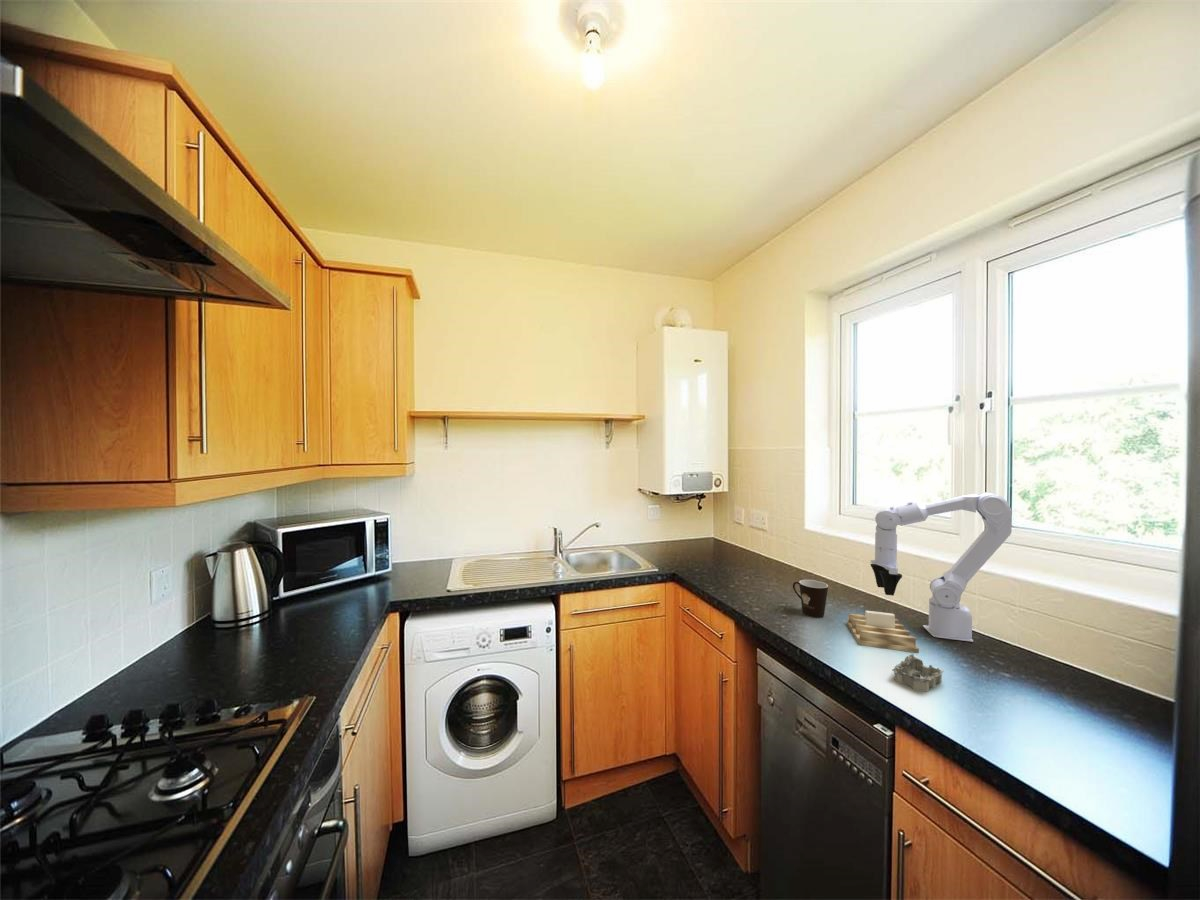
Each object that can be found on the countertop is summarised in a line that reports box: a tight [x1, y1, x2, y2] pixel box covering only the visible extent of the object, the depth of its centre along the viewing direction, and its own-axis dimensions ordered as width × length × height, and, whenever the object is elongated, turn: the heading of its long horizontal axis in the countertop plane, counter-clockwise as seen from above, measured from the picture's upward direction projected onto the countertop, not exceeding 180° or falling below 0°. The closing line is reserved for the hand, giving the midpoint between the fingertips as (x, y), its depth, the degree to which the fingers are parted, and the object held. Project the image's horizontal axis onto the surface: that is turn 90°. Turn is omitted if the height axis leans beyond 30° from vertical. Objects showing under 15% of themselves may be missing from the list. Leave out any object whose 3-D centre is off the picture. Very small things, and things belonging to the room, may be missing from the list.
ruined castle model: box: [891, 653, 945, 693], centre depth 99 cm, size 11×8×4 cm
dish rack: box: [845, 613, 920, 654], centre depth 122 cm, size 14×15×4 cm
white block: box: [864, 610, 896, 629], centre depth 122 cm, size 7×2×6 cm, turn 72°
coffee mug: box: [792, 579, 829, 619], centre depth 141 cm, size 12×9×10 cm
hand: (885, 590), depth 133 cm, fingers open, 7 cm apart
